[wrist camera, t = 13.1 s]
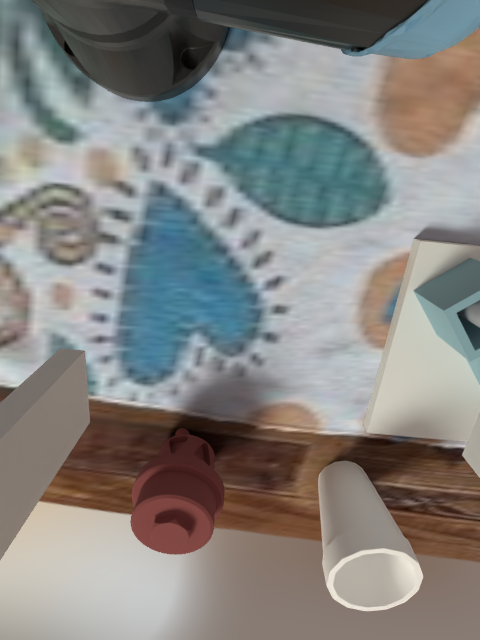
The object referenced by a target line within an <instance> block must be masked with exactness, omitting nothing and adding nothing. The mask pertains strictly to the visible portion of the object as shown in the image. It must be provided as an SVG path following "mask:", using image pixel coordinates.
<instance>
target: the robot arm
mask: <svg viewBox="0 0 480 640" xmlns="http://www.w3.org/2000/svg"><path fill="white" fill-rule="evenodd" d="M31 1H32V2H34V3H35V4H36V5H37V6H38V7H40V10H41V12H42V14H43V16H44V18H45V21H46V23H47V25H48V27H49V29H50V31H51V33H52V34H53V36H54V38H55V40H56V41H57V43H58V44H59V46H60V47H61V49H62V50H63V51H64V53H65V54H66V55H67V57H68V58H69V59H70V60H71V61H72V62H73V63H74V64H75V66H76V67H77V68H78V69H79V70H81V71H82V72H83V73H84V74H85V75H86V76H88V77H89V78H90V79H92V80H93V81H94V82H96V83H97V84H99V85H100V86H102V87H103V88H105V89H107V90H108V91H110V92H112V93H114V94H116V95H119V96H121V97H124V98H127V99H131V100H136V101H144V102H153V101H161V100H166V99H169V98H172V97H175V96H177V95H179V94H181V93H183V92H185V91H187V90H188V89H190V88H191V87H193V86H194V85H195V84H196V83H197V82H199V81H200V80H201V79H202V78H203V77H204V75H205V74H206V73H207V72H208V71H209V69H210V68H211V67H212V65H213V64H214V62H215V60H216V59H217V57H218V55H219V53H220V51H221V49H222V47H223V44H224V41H225V39H226V36H227V32H228V28H229V27H233V28H238V29H243V30H248V31H253V32H258V33H263V34H268V35H273V36H278V37H283V38H288V39H293V40H298V41H303V42H308V43H313V44H318V45H323V46H328V47H333V48H338V49H341V51H342V52H343V53H344V54H346V55H350V56H364V55H368V54H377V55H384V56H391V57H398V58H405V59H419V58H426V57H429V56H431V55H433V54H435V53H437V52H438V51H443V50H445V49H446V48H449V47H452V46H454V45H456V44H458V43H459V42H461V41H462V40H463V39H465V38H466V37H468V36H469V35H470V34H472V33H473V32H474V31H475V30H477V29H478V28H479V27H480V0H31ZM89 423H90V416H89V402H88V387H87V373H86V359H85V351H82V350H71V349H60V350H59V351H57V352H56V353H55V354H54V355H53V356H52V357H51V358H50V359H49V360H47V361H46V362H45V363H44V364H43V365H42V366H41V367H40V368H39V369H37V370H36V371H35V372H34V373H33V374H32V375H31V376H30V377H29V378H27V379H26V380H25V381H24V382H23V383H22V384H21V385H20V386H19V387H17V388H16V389H15V390H14V391H13V392H12V393H11V394H10V395H9V396H7V397H6V398H5V399H4V400H3V401H2V402H1V403H0V560H1V558H2V557H3V555H4V553H5V552H6V550H7V549H8V547H9V546H10V544H11V542H12V541H13V540H14V538H15V537H16V535H17V533H18V532H19V530H20V529H21V527H22V526H23V524H24V523H25V521H26V520H27V518H28V517H29V515H30V513H31V512H32V510H33V509H34V507H35V506H36V504H37V503H38V501H39V500H40V498H41V497H42V495H43V493H44V492H45V490H46V489H47V487H48V486H49V484H50V483H51V481H52V480H53V478H54V477H55V475H56V473H57V472H58V470H59V469H60V467H61V466H62V464H63V463H64V461H65V460H66V458H67V457H68V455H69V453H70V452H71V450H72V449H73V447H74V446H75V444H76V443H77V441H78V440H79V438H80V437H81V435H82V433H83V432H84V430H85V429H86V427H87V426H88V424H89ZM462 456H463V457H464V458H465V460H466V461H467V462H468V463H469V465H470V466H471V467H472V468H473V470H474V471H475V472H476V473H477V475H478V476H479V477H480V413H479V416H478V418H477V420H476V423H475V425H474V428H473V430H472V433H471V435H470V437H469V440H468V442H467V445H466V447H465V449H464V452H463V454H462Z"/></svg>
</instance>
